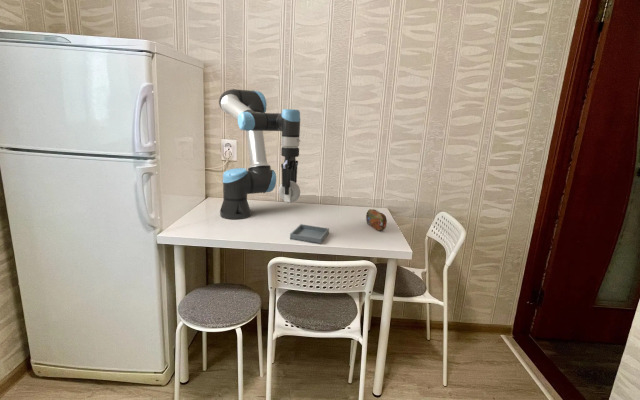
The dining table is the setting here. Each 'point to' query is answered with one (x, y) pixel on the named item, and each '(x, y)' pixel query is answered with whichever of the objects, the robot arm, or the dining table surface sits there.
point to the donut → (294, 188)
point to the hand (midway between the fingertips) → (289, 200)
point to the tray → (309, 234)
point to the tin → (376, 219)
